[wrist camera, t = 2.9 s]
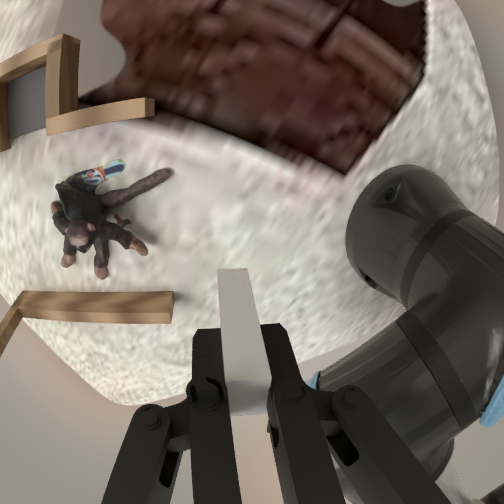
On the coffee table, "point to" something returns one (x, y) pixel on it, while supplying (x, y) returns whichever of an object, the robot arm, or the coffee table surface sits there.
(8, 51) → the coffee table surface
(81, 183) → the stuffed animal
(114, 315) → the wooden rail pieces
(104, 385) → the coffee table surface
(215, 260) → the coffee table surface
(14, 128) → the mat
